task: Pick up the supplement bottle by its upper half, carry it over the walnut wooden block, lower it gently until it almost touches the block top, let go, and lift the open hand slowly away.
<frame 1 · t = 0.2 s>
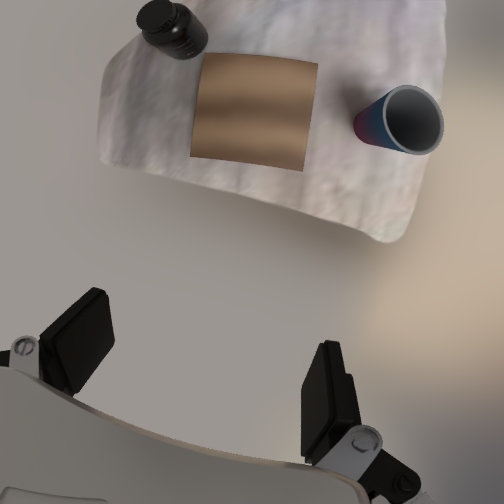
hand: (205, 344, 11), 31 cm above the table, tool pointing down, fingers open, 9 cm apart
supplement bottle: (187, 42, 32), on the table
walnut block: (257, 112, 35), on the table
cup: (370, 127, 34), on the table
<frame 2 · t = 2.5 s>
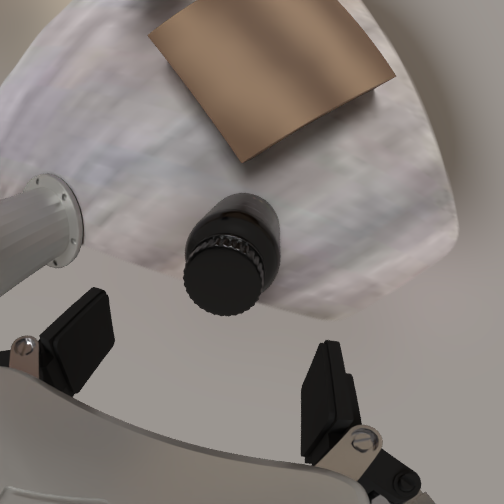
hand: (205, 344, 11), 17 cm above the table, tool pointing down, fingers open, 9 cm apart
supplement bottle: (245, 225, 27), on the table
walnut block: (271, 62, 21), on the table
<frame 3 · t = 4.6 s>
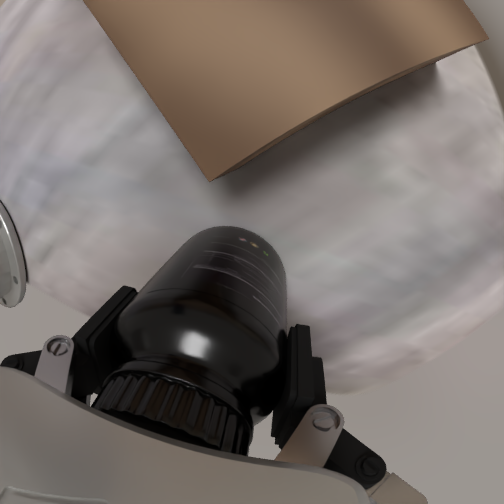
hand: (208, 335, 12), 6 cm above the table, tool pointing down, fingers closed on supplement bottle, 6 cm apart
supplement bottle: (231, 275, 17), on the table, touching gripper
walnut block: (273, 11, 11), on the table
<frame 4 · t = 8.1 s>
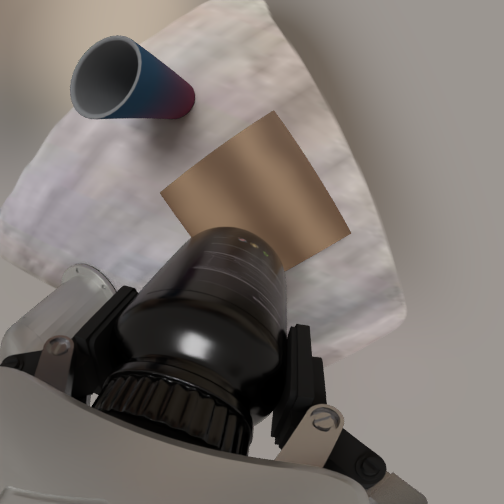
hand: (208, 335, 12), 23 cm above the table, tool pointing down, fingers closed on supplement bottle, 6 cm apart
supplement bottle: (231, 275, 17), point 17 cm above the table, touching gripper
walnut block: (259, 199, 32), on the table
cup: (175, 99, 29), on the table
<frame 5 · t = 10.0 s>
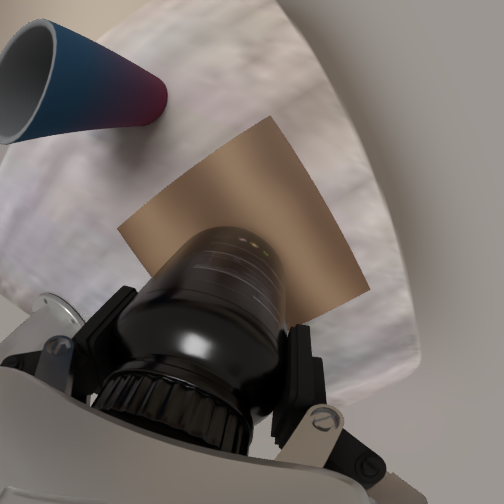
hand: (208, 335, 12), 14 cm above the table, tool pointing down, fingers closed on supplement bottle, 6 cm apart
supplement bottle: (231, 275, 17), point 8 cm above the table, touching gripper
walnut block: (250, 233, 25), on the table
cup: (144, 100, 21), on the table
when the fingers open (12 cm above the table, at t = 11.8 s): supplement bottle stays where it is, point 5 cm above the table.
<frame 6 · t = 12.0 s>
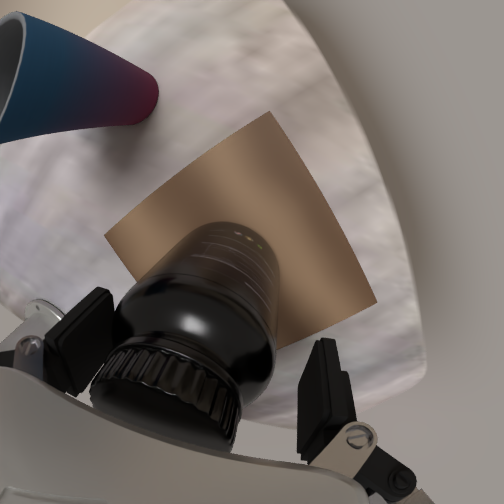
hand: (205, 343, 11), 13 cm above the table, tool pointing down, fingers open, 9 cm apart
supplement bottle: (228, 268, 18), point 5 cm above the table
walnut block: (247, 239, 23), on the table
cup: (134, 97, 20), on the table
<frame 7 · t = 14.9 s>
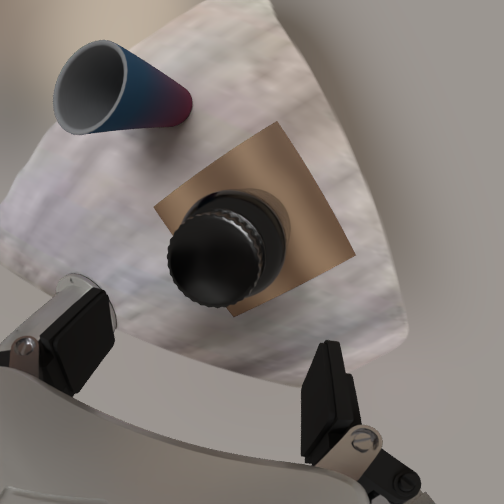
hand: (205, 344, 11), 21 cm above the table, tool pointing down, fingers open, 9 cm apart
supplement bottle: (253, 226, 25), point 6 cm above the table, touching walnut block
walnut block: (259, 213, 31), on the table, touching supplement bottle
cup: (172, 105, 27), on the table
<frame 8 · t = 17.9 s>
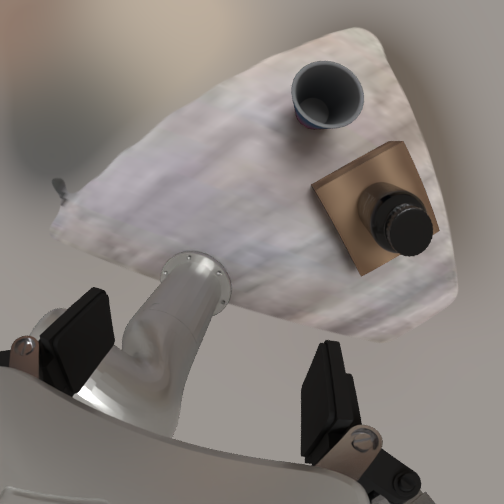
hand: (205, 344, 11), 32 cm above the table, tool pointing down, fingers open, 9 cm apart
supplement bottle: (381, 206, 34), point 6 cm above the table
walnut block: (371, 202, 39), on the table
cup: (313, 112, 36), on the table
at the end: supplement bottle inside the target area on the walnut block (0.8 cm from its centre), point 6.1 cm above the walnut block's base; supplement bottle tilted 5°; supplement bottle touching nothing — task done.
